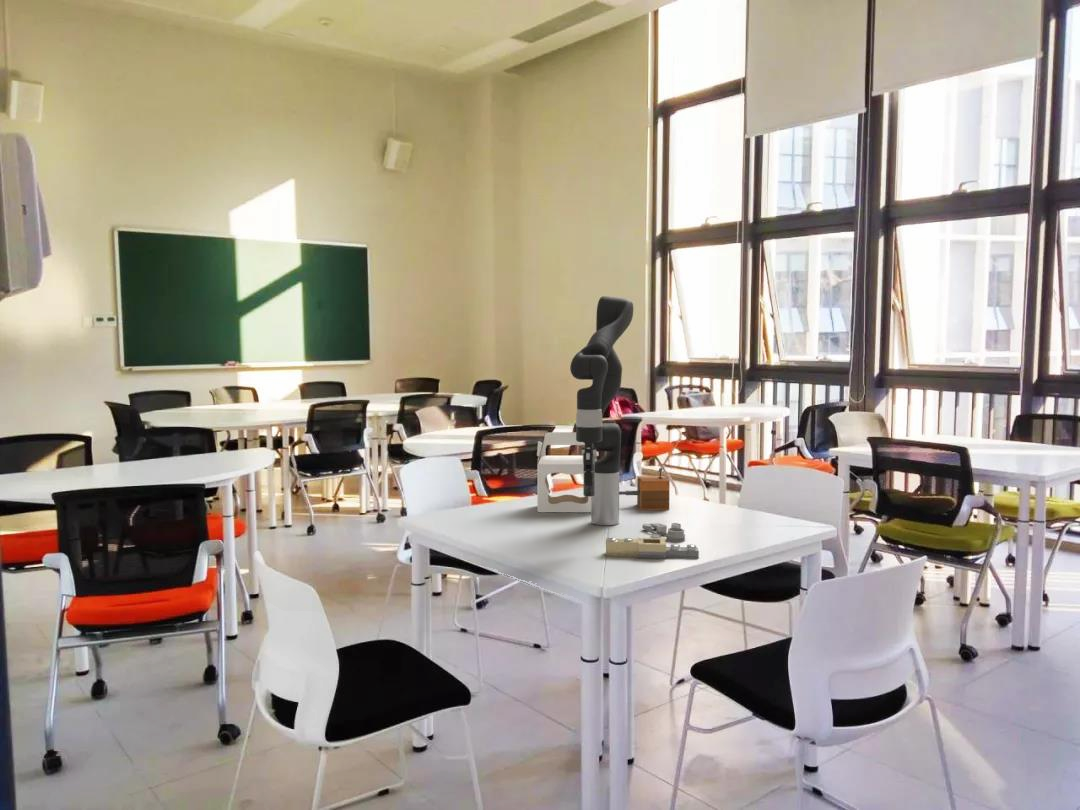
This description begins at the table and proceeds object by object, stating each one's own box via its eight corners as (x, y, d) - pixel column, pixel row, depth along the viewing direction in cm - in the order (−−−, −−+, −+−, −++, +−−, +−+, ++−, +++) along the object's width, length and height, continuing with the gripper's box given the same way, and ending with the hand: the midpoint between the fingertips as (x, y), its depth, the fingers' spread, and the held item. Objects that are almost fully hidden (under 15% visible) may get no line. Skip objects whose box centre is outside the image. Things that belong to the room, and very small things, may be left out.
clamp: (610, 505, 300) (610, 466, 299) (664, 504, 301) (664, 466, 300) (614, 510, 290) (614, 471, 289) (669, 510, 290) (669, 470, 289)
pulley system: (691, 533, 257) (644, 527, 262) (691, 519, 257) (645, 513, 261) (678, 558, 231) (626, 551, 236) (679, 542, 231) (627, 535, 235)
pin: (582, 493, 234) (582, 448, 233) (596, 494, 234) (596, 448, 233) (581, 496, 230) (581, 450, 229) (595, 496, 230) (595, 450, 229)
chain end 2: (637, 551, 231) (637, 541, 230) (696, 552, 229) (696, 542, 229) (638, 558, 223) (638, 547, 223) (699, 559, 221) (699, 549, 221)
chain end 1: (606, 550, 232) (606, 535, 231) (664, 552, 230) (664, 536, 230) (605, 557, 224) (605, 541, 224) (666, 559, 222) (666, 543, 222)
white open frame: (597, 505, 298) (597, 430, 296) (599, 513, 285) (599, 434, 283) (537, 505, 299) (537, 430, 297) (536, 513, 285) (536, 434, 284)
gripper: (601, 427, 223) (601, 489, 225) (603, 422, 237) (602, 480, 239) (574, 427, 224) (574, 488, 225) (577, 422, 238) (577, 480, 239)
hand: (588, 484), depth 232 cm, fingers closed on pin, 3 cm apart
